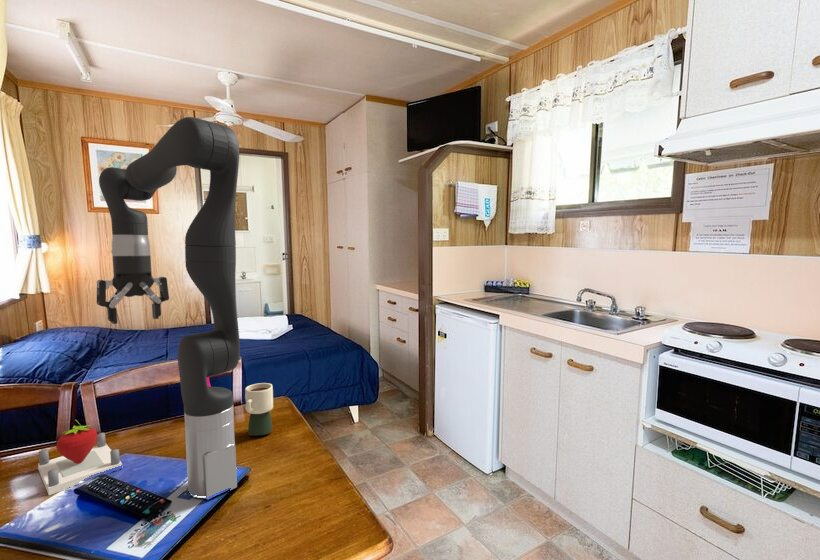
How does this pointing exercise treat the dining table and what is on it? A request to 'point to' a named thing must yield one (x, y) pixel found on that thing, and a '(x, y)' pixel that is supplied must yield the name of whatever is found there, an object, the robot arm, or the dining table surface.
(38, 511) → the dining table surface
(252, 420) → the character mug
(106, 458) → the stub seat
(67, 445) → the strawberry
